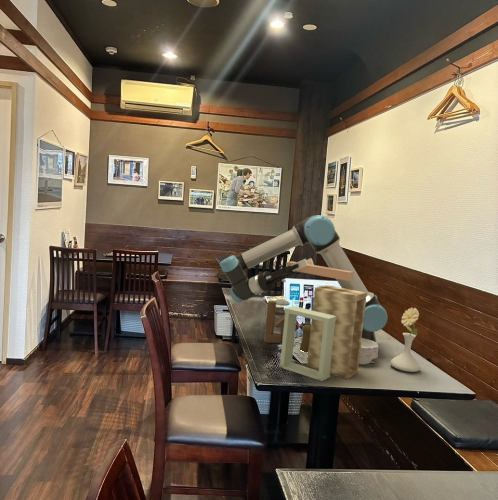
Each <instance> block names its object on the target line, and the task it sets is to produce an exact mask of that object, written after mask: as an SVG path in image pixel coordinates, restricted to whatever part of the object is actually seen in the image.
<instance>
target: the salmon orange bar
mask: <svg viewBox="0 0 498 500" xmlns="http://www.w3.org/2000/svg"><path fill="white" fill-rule="evenodd" d="M297 262H298V261H297ZM297 262H296V261H292V260H291V261H286V266H287V267H288V266H291V265H292V264H294V263H297ZM292 271H293V270H292ZM297 272H298V273H305V274H309V275H315V276H320V277H326V278H331V279H335V280H336V279H341V280H347V281H350V280H353V275H354V272H352V271H346V270H340V269H334V268H329V267H327V266H323V265H322V266H320V265H316V264H314V265H310V264H308V266H306V267H303V268H301V269H299V270H297Z"/></svg>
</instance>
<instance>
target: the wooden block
mask: <svg viewBox="0 0 498 500" xmlns="http://www.w3.org/2000/svg"><path fill="white" fill-rule="evenodd" d="M276 309H277V305H276V301H275V300H268V301H267V310H266V311H267V312H266V319H265V320H266V321H265V330H264V334H263V341H264V343H266V344H267V343H268V344H281V345H282V340H283V330H284V320H285V315H284V316H283V317H282V318H281V319H280V320H278V321H277V322H276V323H275V324H274V322H275V311H276ZM274 327H281V334H277V333H273V332H274Z"/></svg>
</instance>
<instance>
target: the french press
mask: <svg viewBox="0 0 498 500" xmlns="http://www.w3.org/2000/svg"><path fill="white" fill-rule="evenodd" d="M281 282H282V283H283V284H282V286H284V283H286V282H287V280H286V278H285V279H282V280H281ZM283 293H284V290H282V294H281V297H283ZM274 301H276V306H280V307H282V306H283V307H284V306H290V305H291V303H290V302H289V301H288V300H286V299H283V298H281V299H279V298H278V299H275V300H274ZM284 315H285V309H282V308H279V309H278V308H276V311H275V322H274V324H275V323H276V322H277V321H278V320H280V319H281V318H282V317H283V316H284ZM273 333H277V334H281V327H274V332H273Z"/></svg>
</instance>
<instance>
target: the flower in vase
mask: <svg viewBox="0 0 498 500" xmlns="http://www.w3.org/2000/svg"><path fill="white" fill-rule="evenodd" d="M419 316H420V313H419V310H418V309H417V308H416V307H414V308H413V307H410V308H408V309H407V310H404V313H403V314H402V316H401V320H400V322H401V324H403V327H406V329H407V330H408V331H409V332H410V333H409V332H403V333H402V335H403V338H404V349H403V352H402V353H400V354H398V355H397V356H395V357H393V358H392V359H391V360H390V365H391V366H392V367H393V368H394V369H397V370H400V371H403V372H410V373H413V372H419V371H420V370H421V369H422V366H421V364H420V363H419V361H418V360H417V359H416V358H415V357H414V356H413V355H412V353H411V352H412V351H411V349H412V343H413V341H414V339H415V338H416V337H417V336H418V328H415V323H416V321H418V320H419ZM412 325H413V328H411V327H410V326H412Z"/></svg>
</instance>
